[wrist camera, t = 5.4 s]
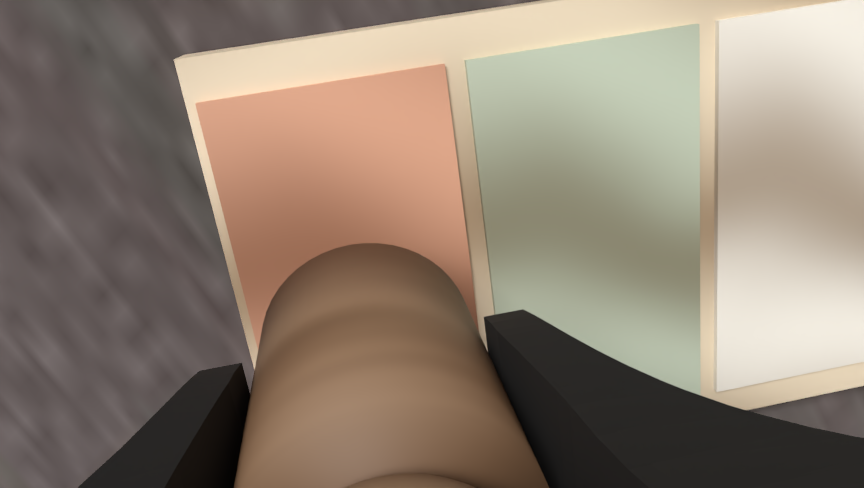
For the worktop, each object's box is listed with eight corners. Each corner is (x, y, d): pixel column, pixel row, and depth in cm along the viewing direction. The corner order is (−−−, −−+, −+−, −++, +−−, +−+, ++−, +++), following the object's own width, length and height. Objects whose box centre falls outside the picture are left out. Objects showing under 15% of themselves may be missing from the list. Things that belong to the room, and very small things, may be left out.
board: (868, 358, 18) (902, 381, 17) (291, 478, 17) (289, 510, 16) (906, -55, 15) (952, -59, 14) (183, 55, 14) (171, 60, 12)
